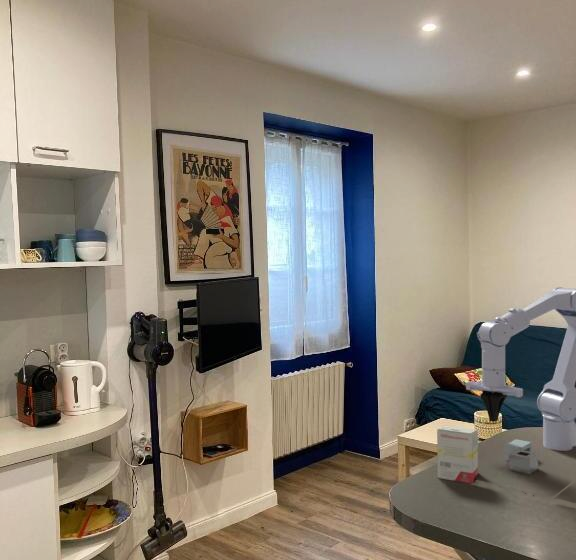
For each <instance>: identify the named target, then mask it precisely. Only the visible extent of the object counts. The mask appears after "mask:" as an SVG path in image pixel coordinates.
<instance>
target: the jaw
mask: <svg viewBox="0 0 576 560" xmlns="http://www.w3.org/2000/svg"><path fill="white" fill-rule="evenodd" d="M508 470H509V471H514V472H518V473H522V474H526V475H531V474H533V473H534V472H535V471H537V470H539V453H538V452H529V451H524V450H519V449H517V450H515V451H514V452H512V453H510V454H509V461H508Z"/></svg>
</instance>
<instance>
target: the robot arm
mask: <svg viewBox="0 0 576 560" xmlns="http://www.w3.org/2000/svg"><path fill="white" fill-rule="evenodd" d="M553 310H555V311H556V312H557V313H558V314H559V315H560V316H561V317H562V318H563V319H564V320H565V322H566V323H567V328H566V331H565V335H564V339H563V342H562V344H561V350H560V353H559V355H558V359H557V363H556V366H555V369H554V370H555V371H554V374H553V375H552V376H553V377H552V379H551V380H550V381H548V382H547V383H545V384H544V385H543V389H542V391H541V392H540V394H539V395H538V397H537V400H536V405H537V408H538V410H539V411H540V412H541V416H542V421H543V422H542V427H543V429H542V432H543V433H542V442H543V443H542V446H543V447H544V448H546V449H548V450H553V451H558V452H559V451H563V452H565V451H571V450H573V448H574V447H576V422H575V419H576V387H575V386H576V288H571V287H570V288H567V287H560V286H558V287H555V288H554V289H553V290H548V291H547V293H546V294H545V295H543V296H542V297H541V298H539V299H537V300H536V301H534V302H533V303H531V304H529V305H527V306H526V307H524V308H523V309H522V308H518V307H516V308H515V307H511V308H508V312H507V313H505V314H503V315H502V316H496V317H494V319H493V321H486V322H484V323H482V324H481V325H480V327H479V329H478V332H476V336H477V339H478V340H479V342H480V348H481V381H480V382H479V381H467V382H466V383H465V389H466V390H467V391H477V392H481V394H480V399H481V401H482V402H483V404H484V407H485V409H486V411H487V415H488V418H489V419H488V420H489V421H490V422H495V423H496V422H498V421H499V417H500V412H501V409H502V407H503V404H504V402H505V400H506V399H507V397H508V396H510V397H511V396H512V397H515V398H521V397H523V396H524V395H523V394H524V389H523V388H520V387H515V386H511V385H506V345H507V344H508V343H509V342H510V340H511V338H512V337H513V336H515V335H517V334H519V333H520V332H522V331H524V330H525V329H527V328H528V327H530V324H531V321H533V320H534V319H537V318H538V317H541V316H543V315H545V314H547V313H549V312H551V311H553Z"/></svg>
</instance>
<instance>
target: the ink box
mask: <svg viewBox="0 0 576 560" xmlns="http://www.w3.org/2000/svg"><path fill="white" fill-rule="evenodd" d="M436 437H437V438H436V441H437V442H436V443H437V444H436V445H437V454H436V455H437V478H438V479H442V480H448V481H449V480H450V481H453V482H460V483H464V484H465V483H466V484H472V485H473V484H475V482H476V481H477V480H478V479H477V478H475V477H477V476H478V474H479V451H478V450H479V448H478V447H479V442H478V441H479V440H478V439H479V438H478V437H479V431H478V429H473V428H467V427H459V426H452V425H446V424H445V425H442V426H440V427H438V428H437V429H436Z"/></svg>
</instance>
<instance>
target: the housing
mask: <svg viewBox="0 0 576 560" xmlns="http://www.w3.org/2000/svg"><path fill="white" fill-rule="evenodd" d="M532 447H533V446H532V441H528V440H521V439H517V438H515V439H513V440H512V441H509V442H508V443H506V444H505V460H506V461H507V462H509V454H510V453H512V452H514V451H515V450H517V449H519V450H524V451H529V452H532V450H533V449H532Z"/></svg>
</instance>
